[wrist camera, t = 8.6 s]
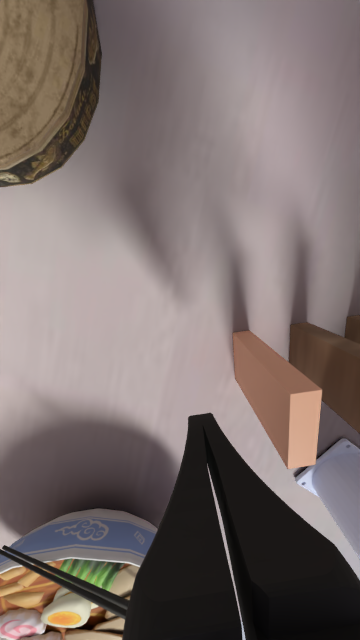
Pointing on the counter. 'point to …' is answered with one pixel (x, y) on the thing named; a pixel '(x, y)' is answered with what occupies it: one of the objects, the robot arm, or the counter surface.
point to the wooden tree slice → (45, 84)
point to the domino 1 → (329, 367)
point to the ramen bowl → (72, 576)
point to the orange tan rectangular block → (279, 399)
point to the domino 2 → (353, 328)
